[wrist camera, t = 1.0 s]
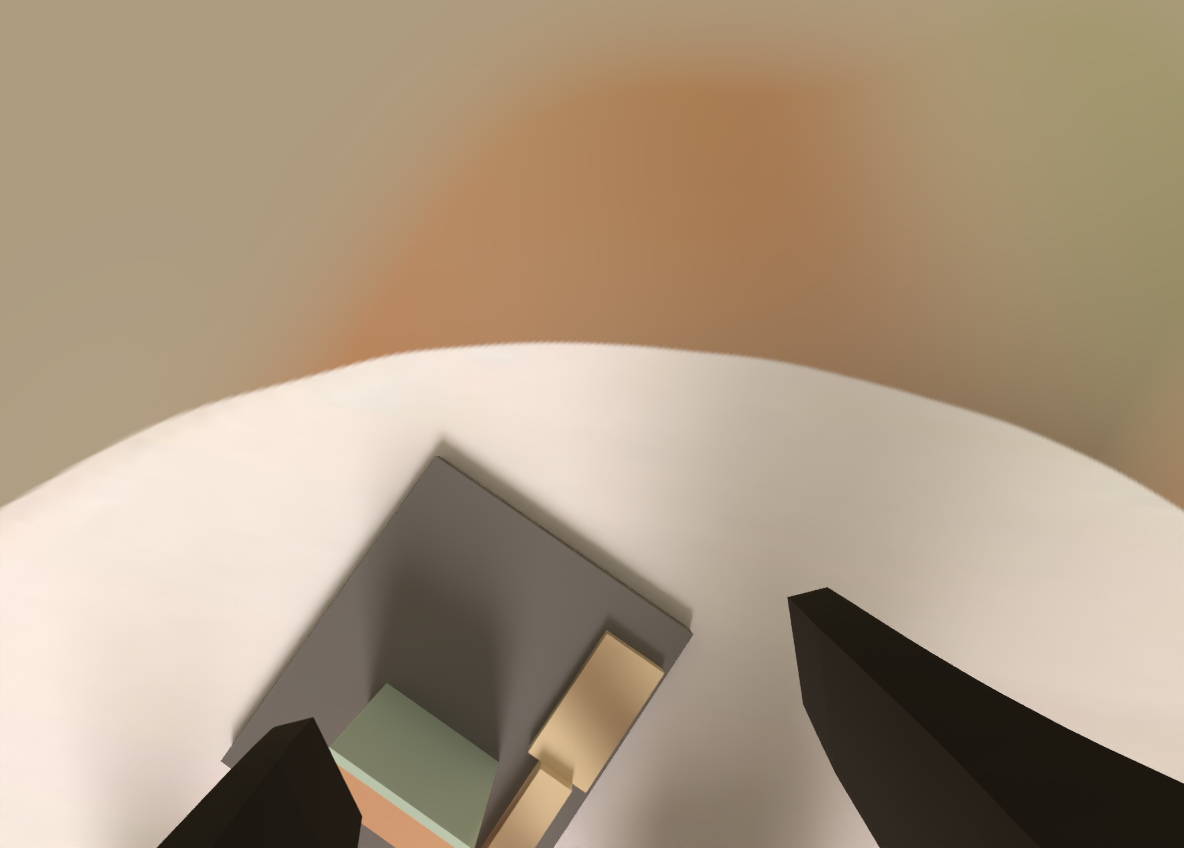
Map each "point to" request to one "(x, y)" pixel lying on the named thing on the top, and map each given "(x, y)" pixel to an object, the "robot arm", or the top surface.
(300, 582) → the top surface
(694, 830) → the top surface
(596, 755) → the light wooden plank
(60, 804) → the top surface
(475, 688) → the mat
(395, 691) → the tile
